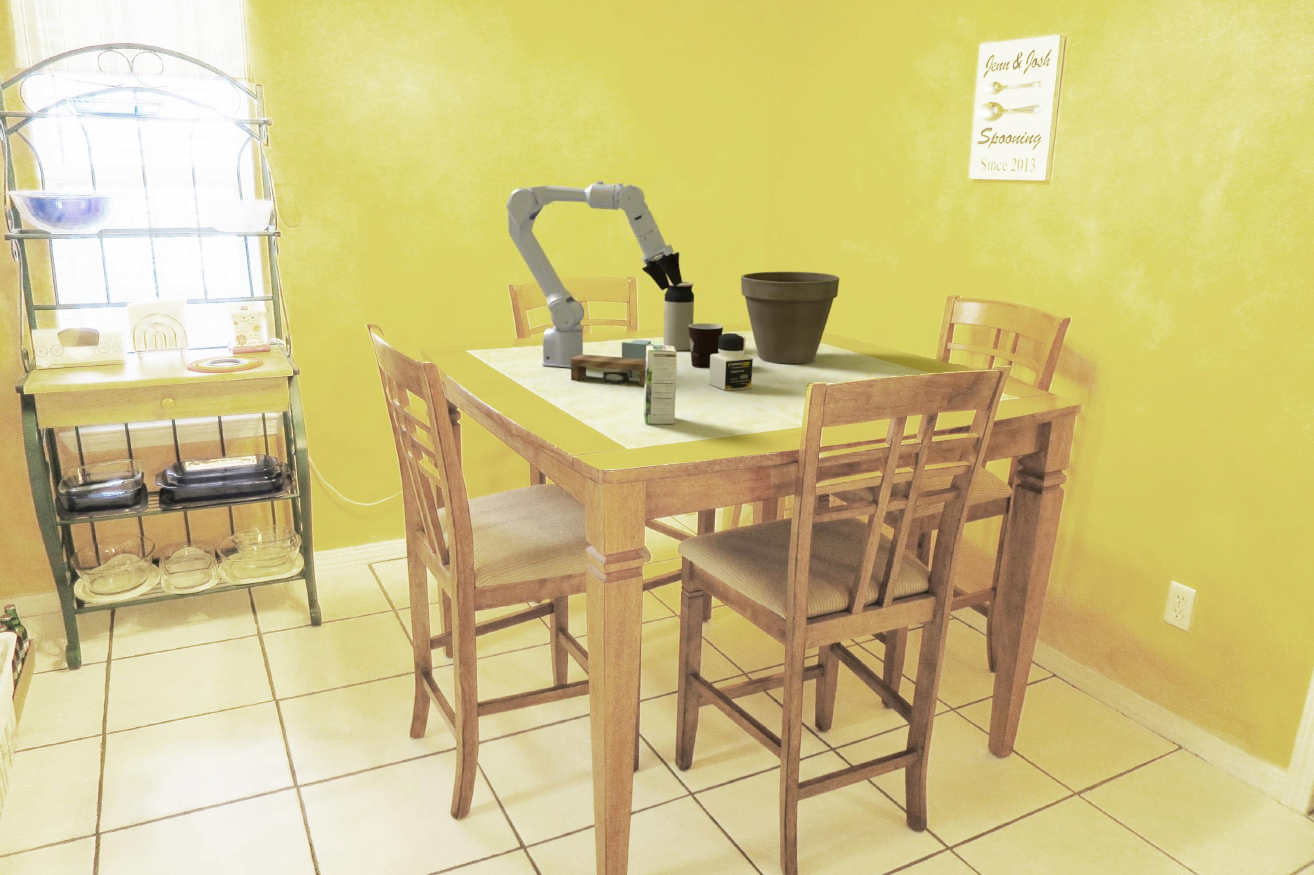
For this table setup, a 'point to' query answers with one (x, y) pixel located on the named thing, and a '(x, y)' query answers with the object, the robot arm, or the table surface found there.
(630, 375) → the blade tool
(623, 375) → the token
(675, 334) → the travel mug
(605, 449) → the table surface
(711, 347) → the coffee mug
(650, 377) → the syrup box
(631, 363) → the riser shelf
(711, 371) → the medicine bottle
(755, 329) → the plant pot
